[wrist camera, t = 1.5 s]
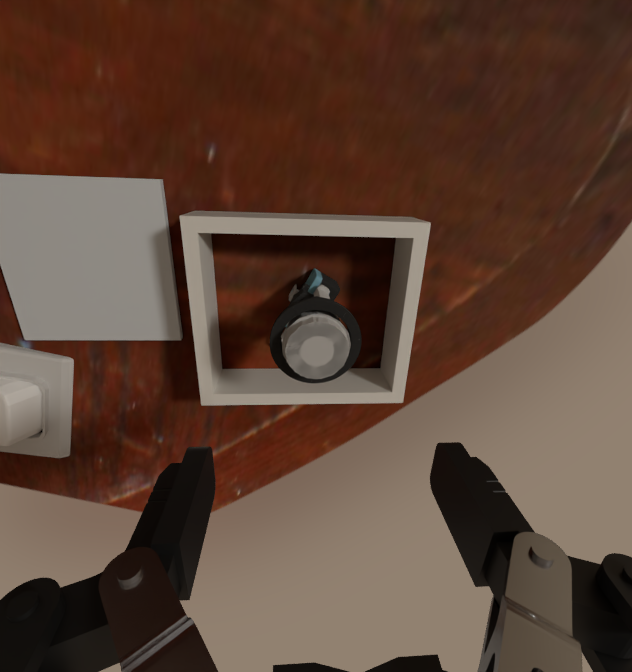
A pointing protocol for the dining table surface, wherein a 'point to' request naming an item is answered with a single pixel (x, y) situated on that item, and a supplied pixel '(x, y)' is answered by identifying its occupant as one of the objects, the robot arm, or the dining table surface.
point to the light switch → (35, 402)
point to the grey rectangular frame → (274, 382)
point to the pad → (88, 258)
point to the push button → (315, 333)
